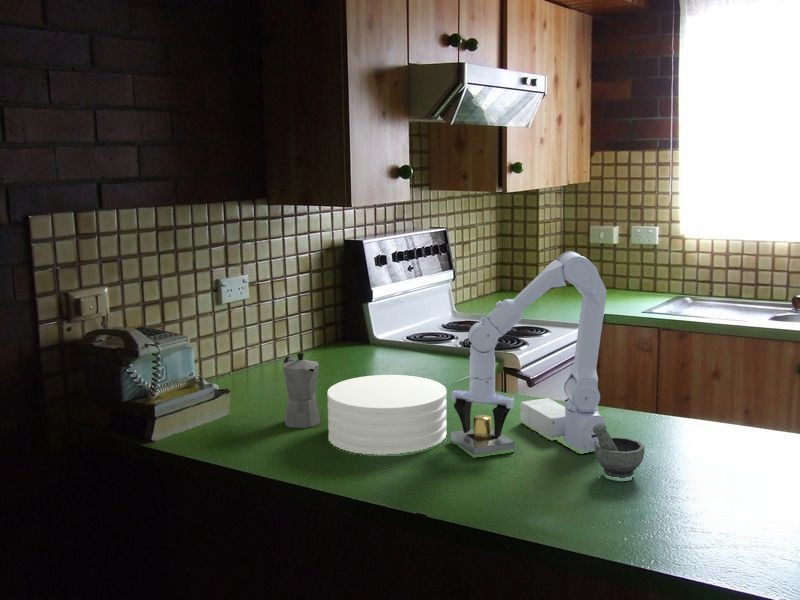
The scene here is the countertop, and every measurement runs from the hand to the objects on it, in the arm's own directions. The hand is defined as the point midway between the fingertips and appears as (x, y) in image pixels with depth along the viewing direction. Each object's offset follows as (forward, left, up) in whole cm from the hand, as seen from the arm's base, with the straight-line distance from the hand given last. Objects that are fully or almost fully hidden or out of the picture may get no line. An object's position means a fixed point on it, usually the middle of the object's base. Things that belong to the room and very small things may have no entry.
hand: (482, 434), depth 197 cm
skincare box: (+12, -20, 0) cm, 23 cm away
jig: (0, 0, -3) cm, 3 cm away
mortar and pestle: (-27, -17, -3) cm, 32 cm away
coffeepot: (+35, +33, -3) cm, 48 cm away
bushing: (0, 0, -3) cm, 3 cm away
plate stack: (+16, +17, -3) cm, 23 cm away
